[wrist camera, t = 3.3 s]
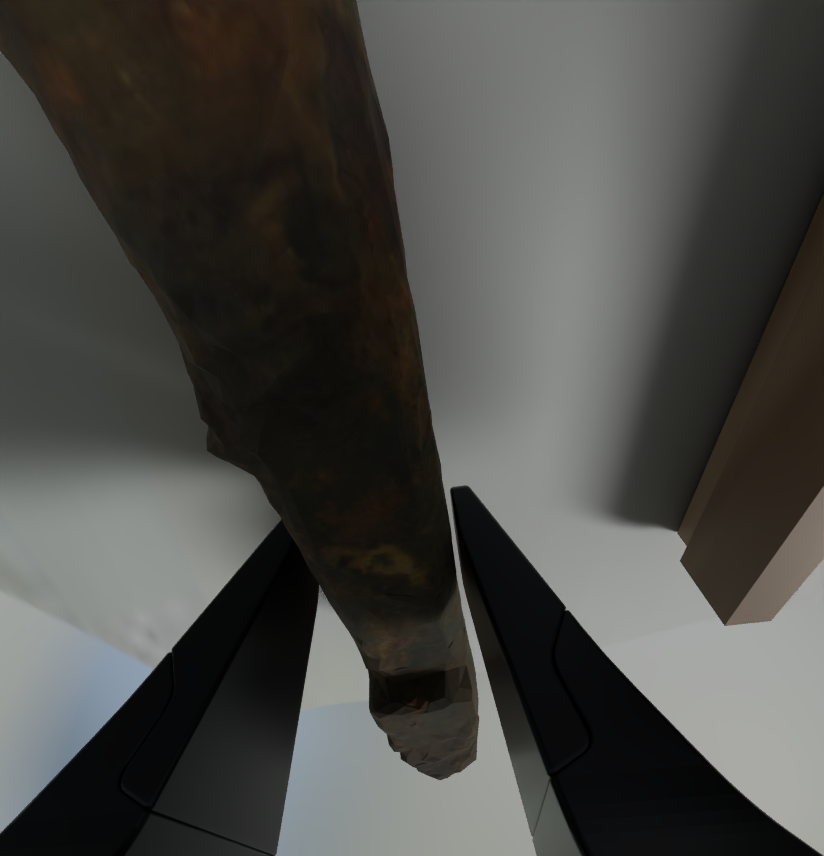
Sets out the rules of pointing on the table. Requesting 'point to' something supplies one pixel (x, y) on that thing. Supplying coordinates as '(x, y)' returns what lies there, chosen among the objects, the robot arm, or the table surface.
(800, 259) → the tool cradle
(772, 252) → the table surface
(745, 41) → the table surface
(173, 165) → the hand tool
